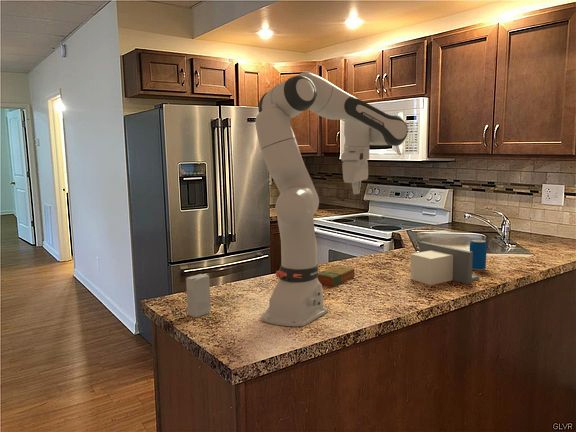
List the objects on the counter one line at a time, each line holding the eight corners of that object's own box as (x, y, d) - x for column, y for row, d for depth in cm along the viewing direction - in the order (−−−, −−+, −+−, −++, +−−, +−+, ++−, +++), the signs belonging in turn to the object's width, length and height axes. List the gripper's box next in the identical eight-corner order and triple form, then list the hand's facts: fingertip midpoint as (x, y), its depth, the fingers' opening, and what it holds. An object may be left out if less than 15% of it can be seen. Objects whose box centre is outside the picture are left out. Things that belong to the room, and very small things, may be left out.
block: (430, 285, 171) (431, 259, 170) (410, 279, 179) (410, 253, 178) (452, 280, 177) (453, 254, 176) (432, 274, 186) (432, 250, 184)
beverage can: (485, 267, 194) (487, 239, 193) (485, 271, 188) (486, 242, 187) (469, 266, 197) (470, 238, 195) (468, 270, 191) (469, 241, 189)
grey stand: (467, 284, 171) (469, 252, 169) (418, 270, 192) (419, 241, 190) (483, 280, 176) (485, 249, 174) (433, 267, 196) (434, 239, 194)
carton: (354, 278, 183) (355, 267, 182) (333, 288, 170) (333, 276, 170) (336, 275, 188) (336, 264, 187) (314, 284, 175) (314, 273, 175)
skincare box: (202, 310, 148) (201, 273, 146) (211, 313, 145) (210, 275, 143) (186, 315, 143) (184, 277, 142) (195, 318, 140) (194, 279, 139)
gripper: (356, 154, 175) (355, 191, 177) (339, 155, 156) (339, 196, 158) (372, 154, 172) (372, 191, 174) (357, 155, 154) (357, 197, 156)
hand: (356, 193), depth 166 cm, fingers closed
